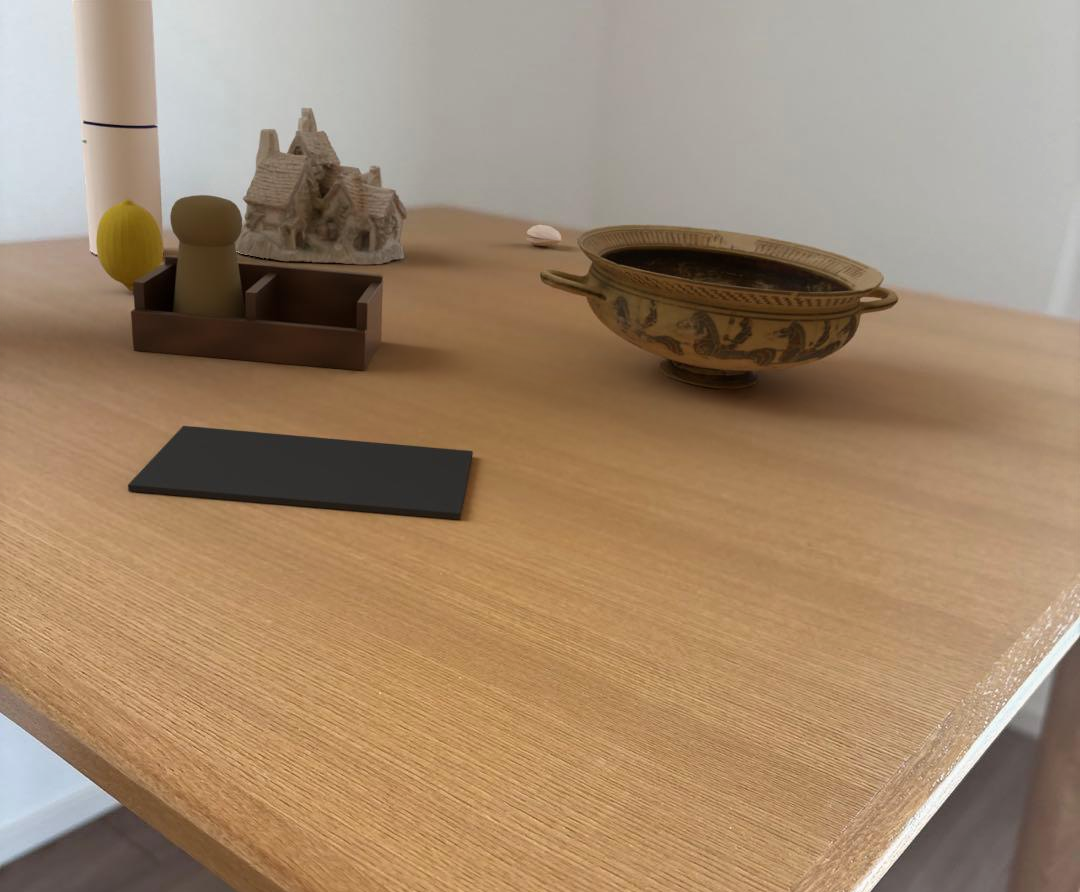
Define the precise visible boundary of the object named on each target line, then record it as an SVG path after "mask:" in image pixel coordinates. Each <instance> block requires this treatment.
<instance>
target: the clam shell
mask: <svg viewBox="0 0 1080 892" xmlns="http://www.w3.org/2000/svg"><path fill="white" fill-rule="evenodd" d="M526 233H527V235H529V236H527V237H526V240H527V241H528V242H529V243H530V244H531V245H534V246H540V247H550V246H553V245H557V244H559V243H560V242H561V241H562V236H561V233H560V232H559V231H558V230H556V229H555V228H554V227H552V226H551V225H544V224H537V225H533V226H531V227H530V228H529V229H528V230H527V231H526Z"/></svg>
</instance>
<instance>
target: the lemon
mask: <svg viewBox="0 0 1080 892" xmlns="http://www.w3.org/2000/svg"><path fill="white" fill-rule="evenodd" d="M96 245H97V253H98V256H97V257H98V260H99V262H100V265H101V267H102V268H103V270H104V271H105V272H106V274H107V275H109V276H110V278H112V279H113V280H114V281H116V282H119V283H121V284H122V285H123V286H125V288H126V289H127V290H128V291H131V292H134V290H133V282H134V281H136V280H137V279H139V278H141V277H142V276H144V275H146V274H147V273H149V272H151V271H153V270H154V269H156V268H158V267H159V266H161V265H162V262H163V259H164V257H163V256H164V255H163V249H164V242H163V243H162V237H161V233H160V230H159V227H158V225H157V223H156V221H155V219H154V217H153V216H152V215H151V214H150V213H149V212H148V211H147V210H145V209H144V208H142V207H140V206H138V205H136V204H134V203H133V202H132V200H128V199H126V200H123V201H122V202H121V203H120V204H117V205H115V206H113V207H111V208H110V209H108V210H107V211H106V212H105V213H104V215H103V216H102V218H101V220H100V222H99V226H98V230H97V239H96Z"/></svg>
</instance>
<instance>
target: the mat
mask: <svg viewBox="0 0 1080 892" xmlns="http://www.w3.org/2000/svg"><path fill="white" fill-rule="evenodd" d="M473 453H474V451H473V450H467V449H466V450H465V449H453V448H441V447H432V446H418V445H408V444H395V443H386V442H385V443H384V442H374V441H364V440H363V441H361V440H350V439H340V438H327V437H317V436H306V435H294V434H284V433H282V434H281V433H270V432H262V431H261V432H260V431H250V430H248V431H247V430H237V429H236V430H235V429H228V428H227V429H225V428H215V427H204V426H203V427H202V426H190V425H183V426H181V427H180V429H179V430H178V431H176V432H175V434H174V435H173V436H172V437H171V438H170V439H169V440H168V441H167V442H166V444H164V446H163V447H162V448H161V449H160V450H159V451H158V452H157V453H156V454H155V456H153V457H152V458H151V460H149V462H148V463H147V464H146V465H145V466H143V468H142V469H141V470H140V471H139V472H138V473H137V475H136V476H135V477H134V478H133V479H132V480H131V481H130V482H129V483H128V484H127V491H128V492H133V493H145V494H158V495H170V496H179V497H180V496H181V497H192V498H194V497H195V498H201V499H203V498H205V499H213V500H214V499H215V500H226V501H239V502H250V503H262V504H271V505H273V504H274V505H275V504H276V505H284V506H297V507H306V508H307V507H309V508H319V509H331V510H343V511H353V512H354V511H355V512H366V513H378V514H390V515H401V516H412V517H424V518H435V519H436V518H437V519H448V520H461V517H462V513H463V508H464V503H465V497H466V492H467V487H468V481H469V476H470V471H471V466H472V461H473Z"/></svg>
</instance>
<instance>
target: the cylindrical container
mask: <svg viewBox="0 0 1080 892" xmlns="http://www.w3.org/2000/svg"><path fill="white" fill-rule="evenodd" d="M71 13H72V26H73V39H74V54H75V67H76V79H77V81H76V82H77V94H78V108H79V118H80V119H79V121H80V134H81V136H80V137H81V139H82V140H81V147H82V149H81V150H82V160H83V161H82V162H83V172H84V173H83V175H84V188H85V200H86V201H85V205H86V215H87V229H88V243H89V252H90V251H91V252H93V253H95V254H98V253H97V245H96V239H97V230H98V226H99V222H100V220H101V218H102V216H103V215H104V213H105V212H106V211H107V210H108V209H110V208H111V207H113V206H115V205H117V204H120V203H121V202H122V201H123V200H126V199H128V200H132V202H133V203H134V204H136V205H138V206H140V207H142V208H144V209H145V210H147V211H148V212H149V213H150V214H151V215H152V216H153V217H154V219H155V221H156V223H157V225H158V227H159V230H160V233H161V237H162V243H163V244H164V231H163V230H164V229H163V208H162V206H163V205H162V187H161V185H162V184H161V166H160V165H161V164H160V145H159V126H158V125H159V124H158V122H159V121H158V101H157V81H156V77H157V76H156V57H155V55H156V54H155V38H154V16H153V0H71ZM163 252H164V248H163ZM164 253H165V252H164Z"/></svg>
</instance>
